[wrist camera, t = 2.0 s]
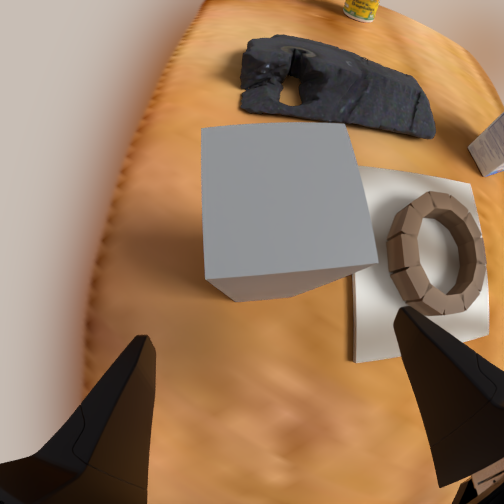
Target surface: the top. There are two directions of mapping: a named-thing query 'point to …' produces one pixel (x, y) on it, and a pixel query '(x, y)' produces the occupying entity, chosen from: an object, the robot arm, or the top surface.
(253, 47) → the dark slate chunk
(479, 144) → the medicine box
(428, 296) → the ring holder
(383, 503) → the top surface
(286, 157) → the tall square grey column
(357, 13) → the supplement bottle
